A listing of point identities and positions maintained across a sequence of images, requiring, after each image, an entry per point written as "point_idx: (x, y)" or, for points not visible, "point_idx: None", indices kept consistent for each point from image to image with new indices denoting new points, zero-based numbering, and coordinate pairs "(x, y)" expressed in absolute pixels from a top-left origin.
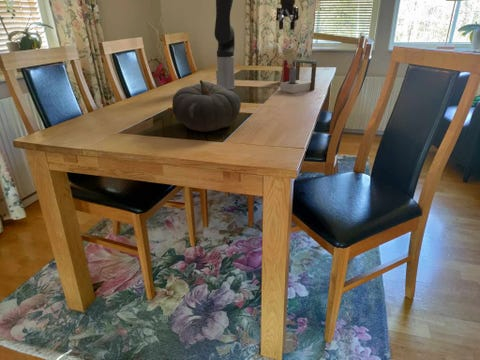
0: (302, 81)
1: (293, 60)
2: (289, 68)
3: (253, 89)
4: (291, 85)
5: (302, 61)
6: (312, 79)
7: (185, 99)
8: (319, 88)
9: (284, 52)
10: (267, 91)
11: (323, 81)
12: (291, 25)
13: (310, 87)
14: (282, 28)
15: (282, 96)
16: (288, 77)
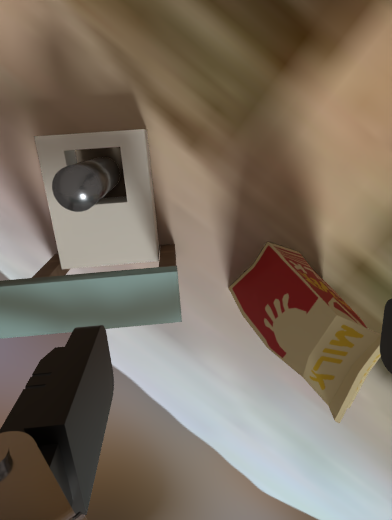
0: (109, 253)
1: (166, 269)
2: (272, 301)
3: (256, 14)
4: (51, 135)
5: (72, 277)
6: (41, 272)
7: None
8: None
9: (363, 342)
10: (163, 49)
11: (197, 416)
12: (54, 373)
13: None
14: (386, 354)
15: (6, 32)
16: (259, 277)
